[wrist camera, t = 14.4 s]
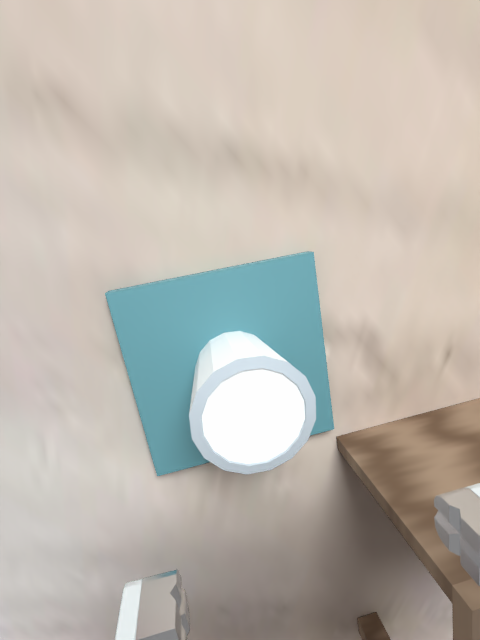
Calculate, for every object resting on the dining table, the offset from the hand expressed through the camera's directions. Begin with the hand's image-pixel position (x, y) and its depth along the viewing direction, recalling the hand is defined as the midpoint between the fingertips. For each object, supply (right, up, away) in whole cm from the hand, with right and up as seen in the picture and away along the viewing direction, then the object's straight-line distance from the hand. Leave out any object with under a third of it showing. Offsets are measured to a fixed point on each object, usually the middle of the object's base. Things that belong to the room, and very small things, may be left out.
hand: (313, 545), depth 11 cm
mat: (-3, +4, +15) cm, 16 cm away
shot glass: (-3, +3, +15) cm, 15 cm away
